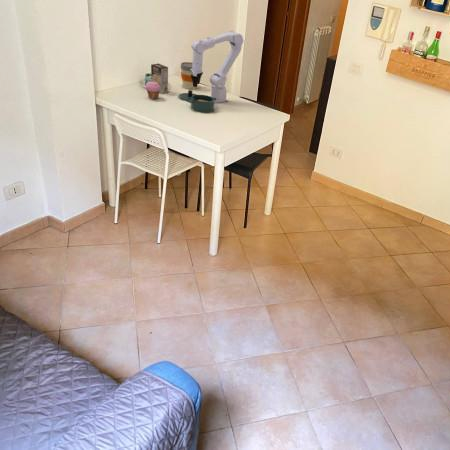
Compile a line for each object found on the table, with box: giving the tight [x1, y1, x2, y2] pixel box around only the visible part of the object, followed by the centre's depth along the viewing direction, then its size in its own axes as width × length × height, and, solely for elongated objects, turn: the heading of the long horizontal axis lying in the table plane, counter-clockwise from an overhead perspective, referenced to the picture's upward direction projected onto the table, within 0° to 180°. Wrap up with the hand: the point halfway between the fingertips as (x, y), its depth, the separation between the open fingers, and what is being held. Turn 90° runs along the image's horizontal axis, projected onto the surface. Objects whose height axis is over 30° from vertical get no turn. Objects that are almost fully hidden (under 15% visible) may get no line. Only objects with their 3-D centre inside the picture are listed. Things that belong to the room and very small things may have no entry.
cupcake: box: [145, 81, 161, 100], centre depth 264 cm, size 9×9×10 cm
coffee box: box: [150, 63, 169, 94], centre depth 275 cm, size 9×6×16 cm
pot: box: [187, 94, 216, 113], centre depth 263 cm, size 13×19×6 cm
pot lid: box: [178, 89, 198, 102], centre depth 276 cm, size 14×14×5 cm
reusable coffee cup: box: [180, 61, 198, 90], centre depth 293 cm, size 13×13×15 cm
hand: (196, 85), depth 268 cm, fingers open, 7 cm apart
